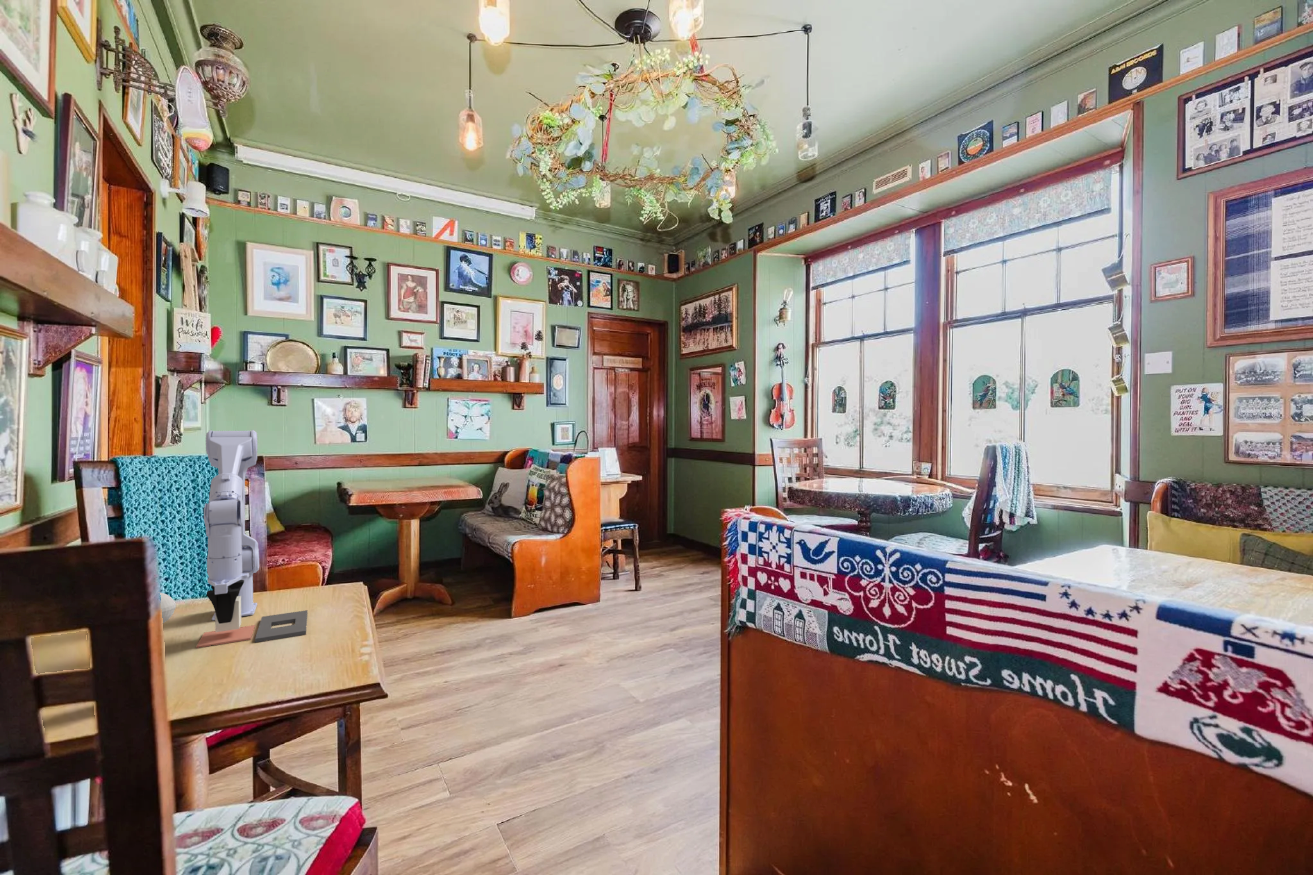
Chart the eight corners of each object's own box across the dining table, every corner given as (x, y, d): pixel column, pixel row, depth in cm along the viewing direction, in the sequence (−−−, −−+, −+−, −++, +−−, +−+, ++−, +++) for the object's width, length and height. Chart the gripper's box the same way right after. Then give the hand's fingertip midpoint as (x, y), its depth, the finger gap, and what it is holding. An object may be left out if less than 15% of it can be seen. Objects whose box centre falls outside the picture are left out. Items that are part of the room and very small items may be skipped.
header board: (262, 620, 133) (261, 616, 133) (307, 613, 137) (307, 610, 137) (255, 642, 119) (255, 638, 119) (305, 634, 124) (305, 630, 124)
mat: (204, 634, 124) (204, 632, 124) (254, 626, 128) (254, 624, 128) (196, 648, 116) (196, 646, 116) (250, 639, 121) (250, 637, 121)
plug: (218, 626, 123) (218, 598, 123) (241, 623, 125) (240, 595, 125) (215, 632, 120) (215, 603, 120) (239, 628, 122) (238, 600, 122)
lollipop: (126, 686, 99) (124, 600, 99) (138, 673, 105) (136, 591, 104) (172, 678, 102) (170, 595, 102) (181, 666, 107) (179, 586, 107)
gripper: (244, 560, 118) (245, 626, 118) (251, 547, 130) (253, 606, 131) (201, 564, 114) (202, 632, 114) (212, 551, 127) (214, 612, 127)
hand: (226, 619), depth 122 cm, fingers closed on plug, 4 cm apart
